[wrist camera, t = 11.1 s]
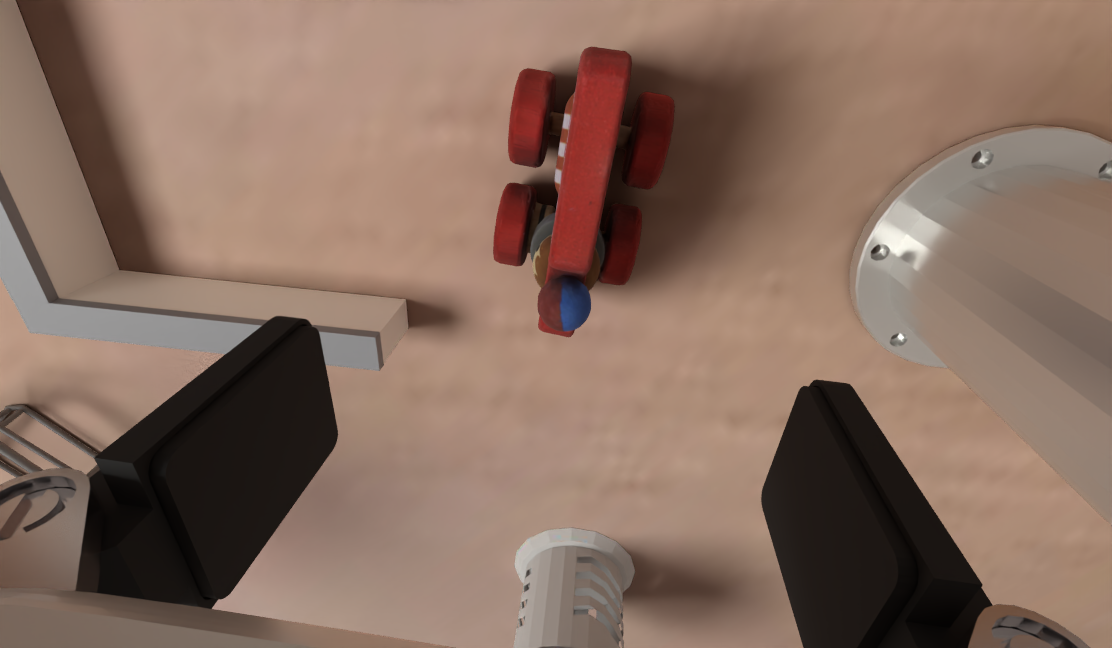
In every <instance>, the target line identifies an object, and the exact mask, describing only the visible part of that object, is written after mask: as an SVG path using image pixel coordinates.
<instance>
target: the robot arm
mask: <svg viewBox="0 0 1112 648" xmlns="http://www.w3.org/2000/svg"><path fill="white" fill-rule="evenodd" d="M974 155H975V156H974ZM972 158H973V159H972ZM874 247H875V249H873V248H874ZM872 249H873V250H872ZM849 279H850V295H851V299H852V303H853V307H854V310H855V312H856V314H857V316H858V318H859V320H860V321H861V323H862V325H863V326H864V327H865V329H866V330H867V331H868V332H869V333H870V334H871V336H872V337H873V338H874V339H875V340H876V341H877V342H878V343H879V344H880V345H881V346H883V347H884V348H885V349H886V350H888V351H889V352H891V353H893V354H895V355H897V356H899V357H901V358H903V359H905V360H907V361H910V362H914V363H917V364H921V365H925V366H931V367H940V368H950V369H951V370H952V371H953V372H954V373H955V374H956V375H957V376H958V377H959V378H960V379H961V380H962V381H963V382H964V383H965V384H966V385H967V386H968V387H969V388H970V389H971V390H972V391H973V392H974V393H975V394H976V395H977V396H978V397H979V398H980V399H981V400H982V401H983V402H984V403H986V404H987V405H988V406H989V407H990V408H991V409H992V410H993V411H994V412H995V413H996V414H997V415H998V416H999V417H1000V418H1001V419H1002V420H1003V421H1004V422H1005V423H1006V424H1007V425H1008V426H1009V427H1010V428H1011V429H1012V430H1013V431H1014V432H1015V433H1016V434H1017V435H1018V436H1019V437H1020V438H1021V439H1022V440H1024V441H1025V442H1026V443H1027V444H1028V445H1029V446H1030V447H1031V448H1032V449H1033V450H1034V451H1035V452H1036V453H1037V454H1038V455H1039V456H1040V457H1041V458H1042V459H1043V460H1044V461H1045V462H1046V463H1047V464H1048V465H1049V466H1050V467H1051V468H1052V469H1053V470H1054V471H1055V472H1056V473H1057V474H1058V475H1059V476H1060V477H1062V478H1063V479H1064V480H1065V481H1066V482H1067V483H1068V484H1069V485H1070V486H1071V487H1072V488H1073V489H1074V490H1075V491H1076V492H1077V493H1078V494H1079V495H1080V496H1081V497H1082V498H1083V499H1084V500H1085V501H1086V502H1087V503H1088V504H1089V505H1090V506H1091V507H1092V508H1093V509H1094V510H1095V511H1096V512H1097V513H1099V514H1100V515H1101V516H1102V517H1103V518H1104V519H1105V520H1106V521H1107V522H1108V523H1109V524H1110V525H1111V526H1112V143H1111V142H1109V141H1107V140H1105V139H1102V138H1100V137H1098V136H1096V135H1093V134H1091V133H1088V132H1083V131H1079V130H1074V129H1069V128H1065V127H1056V126H1043V125H1029V126H1020V127H1010V128H1004V129H1000V130H996V131H993V132H989V133H986V134H982V135H978V136H975V137H973V138H970V139H968V140H966V141H964V142H961V143H959V144H957V145H955V146H952V147H950V148H948V149H946V150H944V151H943V152H941V153H939V154H938V155H936V156H935V157H933V158H931V159H930V160H928V161H927V162H925V163H923V164H922V165H920V166H919V167H918V168H917V169H915V170H914V171H913V172H912V173H911V174H909V175H908V176H907V177H906V178H905V179H903V180H902V181H901V182H900V183H899V184H897V185H896V187H895V188H894V189H893V190H892V191H891V192H890V193H889V194H888V195H887V197H886V198H885V199H884V200H883V201H882V202H881V203H880V204H879V205H878V207H877V208H876V210H875V211H874V213H873V214H872V216H871V218H870V219H869V221H868V222H867V224H866V225H865V227H864V228H863V231H862V233H861V235H860V238H859V240H858V242H857V245H856V247H855V249H854V253H853V258H852V262H851V267H850V271H849ZM337 437H338V430H337V424H336V419H335V413H334V408H333V403H332V397H331V392H330V387H329V381H328V376H327V371H326V365H325V360H324V354H323V349H322V344H321V338H320V334H319V331H318V330H317V328H315V327H312V325H311V323H310V322H309V321H308V320H307V319H303V318H294V317H286V316H275V317H273V318H271V319H270V320H269V321H267V322H266V323H265V324H264V325H262V326H261V327H260V328H258V329H257V330H256V331H255V332H253V333H252V334H251V335H250V336H248V337H247V338H246V339H244V340H243V341H242V342H241V343H239V344H238V345H237V346H236V347H234V348H233V349H232V350H230V351H229V352H228V353H227V354H225V355H224V356H223V357H222V358H220V359H219V360H218V361H216V362H215V363H214V364H213V365H211V366H210V367H209V368H208V369H206V370H205V371H204V372H202V373H201V374H200V375H199V376H197V377H196V378H195V379H194V380H192V381H191V382H190V383H188V384H187V385H186V386H185V387H183V388H182V389H181V390H180V391H178V392H177V393H176V394H174V395H173V396H172V397H171V398H169V399H168V400H167V401H166V402H164V403H163V404H162V405H160V406H159V407H158V408H157V409H155V410H154V411H153V412H152V413H150V414H149V415H148V416H146V417H145V418H144V419H143V420H141V421H140V422H139V423H138V424H136V425H135V426H134V427H133V428H131V429H130V430H129V431H127V432H126V433H125V434H124V435H122V436H121V437H120V438H119V439H117V440H116V441H115V442H113V443H112V444H111V445H110V446H108V447H107V448H106V449H105V450H103V451H102V452H101V453H99V454H98V455H97V456H96V457H94V459H95V461H96V463H97V465H98V467H99V469H100V470H99V471H97V472H96V473H95V474H94V475H93V476H91V477H90V478H89V477H88V476H86V475H85V474H84V473H83V472H82V471H79V470H74V469H70V468H54V469H47V470H42V471H37V472H32V473H29V474H26V475H23V476H20V477H17V478H14V479H11V480H9V481H7V482H5V483H3V484H1V485H0V648H454V647H448V646H442V645H436V644H429V643H423V642H417V641H411V640H405V639H398V638H392V637H386V636H380V635H374V634H367V633H361V632H355V631H348V630H342V629H336V628H329V627H323V626H316V625H310V624H304V623H297V622H291V621H284V620H278V619H272V618H265V617H259V616H252V615H246V614H240V613H233V612H227V611H221V610H214V609H212V607H213V606H214V604H215V603H216V602H217V600H218V599H223V598H225V597H227V596H228V595H229V594H230V593H231V592H232V590H233V589H234V588H235V586H236V585H237V584H238V582H239V581H240V579H241V578H242V577H243V575H244V574H245V572H246V571H247V570H248V568H249V567H250V565H251V564H252V563H253V561H254V560H255V558H256V557H257V556H258V554H259V553H260V551H261V550H262V549H263V547H264V546H265V544H266V543H267V542H268V540H269V539H270V537H271V536H272V535H273V533H274V532H275V530H276V529H277V528H278V526H279V525H280V523H281V522H282V520H283V519H284V518H285V516H286V515H287V513H288V512H289V511H290V509H291V508H292V506H293V505H294V504H295V502H296V501H297V499H298V498H299V497H300V495H301V494H302V492H303V491H304V490H305V488H306V487H307V485H308V484H309V483H310V481H311V480H312V478H313V477H314V476H315V474H316V473H317V471H318V470H319V469H320V467H321V466H322V464H323V463H324V462H325V460H326V459H327V457H328V456H329V455H330V453H331V452H332V450H333V449H334V447H335V445H336V442H337ZM761 501H762V508H763V512H764V515H765V519H766V522H767V525H768V529H769V532H770V535H771V539H772V542H773V546H774V549H775V552H776V556H777V559H778V563H779V566H780V569H781V573H782V576H783V580H784V583H785V586H786V590H787V593H788V597H789V600H790V603H791V607H792V610H793V613H794V617H795V620H796V624H797V627H798V630H799V634H800V637H801V641H802V644H803V647H804V648H1090V647H1089V646H1088V645H1087V644H1086V643H1085V642H1083V641H1082V640H1081V639H1080V638H1079V637H1077V636H1076V635H1074V634H1073V633H1071V632H1070V631H1068V630H1067V629H1065V628H1064V627H1063V626H1061V625H1060V624H1058V623H1056V622H1054V621H1052V620H1050V619H1048V618H1046V617H1044V616H1042V615H1040V614H1038V613H1036V612H1034V611H1031V610H1028V609H1025V608H1021V607H1018V606H1015V605H1002V604H996V605H992V603H991V602H990V600H989V599H988V597H987V596H986V594H985V593H984V591H983V590H982V588H981V587H982V583H981V582H980V580H979V579H978V577H977V576H976V574H975V572H974V571H973V569H972V568H971V566H970V565H969V563H968V562H967V560H966V559H965V557H964V556H963V554H962V553H961V551H960V550H959V548H958V547H957V545H956V544H955V542H954V541H953V539H952V538H951V536H950V534H949V533H948V531H947V530H946V528H945V527H944V525H943V524H942V522H941V521H940V519H939V518H938V516H937V515H936V513H935V512H934V510H933V509H932V507H931V506H930V504H929V503H928V501H927V500H926V498H925V496H924V495H923V493H922V492H921V490H920V489H919V487H918V486H917V484H916V483H915V481H914V480H913V478H912V477H911V475H910V474H909V472H908V471H907V469H906V468H905V466H904V465H903V463H902V462H901V460H900V459H899V457H898V455H897V454H896V452H895V451H894V449H893V448H892V446H891V445H890V443H889V442H888V440H887V439H886V437H885V436H884V434H883V433H882V431H881V430H880V428H879V427H878V425H877V424H876V422H875V421H874V419H873V417H872V416H871V414H870V413H869V411H868V410H867V408H866V407H865V405H864V404H863V402H862V401H861V399H860V398H859V396H858V395H857V393H856V392H855V390H854V389H853V387H852V386H851V385H850V384H847V383H840V382H832V381H823V380H814V381H813V382H812V383H811V384H810V386H809V387H808V386H803V387H801V389H800V390H799V392H798V395H797V397H796V400H795V403H794V405H793V408H792V411H791V413H790V416H789V419H788V421H787V424H786V427H785V430H784V432H783V435H782V438H781V440H780V443H779V446H778V448H777V451H776V454H775V456H774V459H773V462H772V465H771V467H770V470H769V473H768V475H767V478H766V481H765V483H764V486H763V489H762V497H761Z"/></svg>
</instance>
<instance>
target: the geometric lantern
mask: <svg viewBox="0 0 1112 648" xmlns="http://www.w3.org/2000/svg"><path fill="white" fill-rule="evenodd" d="M11 410H17V411H16V412H14V413H13V414H12V415H10V416H9V417H8V418H6V419H5V417H6V416H7V415H8V414H9V413H10V412H11ZM23 412H25V413H26V414H28V415H29V416H31V417H32V418H34V419H35V420H37V421H38V422H40V423H41V424H43V425H44V426H46V427H47V428H49V429H50V430H52V431H53V432H55V433H56V434H58V435H59V436H61V437H62V438H64V439H65V440H67V441H68V442H70V443H71V444H73V445H75V446H76V447H78V448H79V449H81V450H82V451H84V452H85V453H87V454H88V455H90V456H91V457H93V458H94V457H96V456H97V455H98V454H97V453H96V452H94V451H93V450H91V449H90V448H88V447H87V446H85V445H84V444H82V443H81V442H79V441H78V440H76V439H75V438H73V437H72V436H70V435H69V434H67V433H66V432H64V431H63V430H61V429H60V428H58V427H57V426H55V425H54V424H52V423H51V422H49V421H48V420H46V419H45V418H43V417H42V416H40V415H39V414H37V413H36V412H34V411H33V410H31V409H30V408H28V407H26V405H12V406H6V407H5V409H4V410H3V411H1V412H0V432H2V433H3V434H5V435H7V436H8V437H10V438H12V439H13V440H15V441H17V442H18V443H20V444H21V445H23V446H25V447H26V448H28V449H30V450H31V451H33V452H35V453H36V454H38V455H39V456H41V457H43V458H44V459H46V460H48V461H49V462H51V463H53V464H54V465H56V466H58V467H59V468H70V469H72V468H71V467H69V466H67V465H66V464H64V463H63V462H61V461H59V460H58V459H56V458H54V457H53V456H51V455H50V454H48V453H46V452H45V451H43V450H41V449H40V448H38V447H37V446H35V445H33V444H32V443H30V442H28V441H27V440H25V439H24V438H22V437H20V436H19V435H17V434H15V433H14V432H12V431H11V430H9V429H7V428H6V427H5V426H6V425H8V424H9V423H10V422H12V421H13V420H14V419H16V418H17V417H18V416H19V415H21V414H22V413H23ZM4 419H5V420H4ZM3 420H4V421H3ZM0 453H1V454H2V455H4V456H5V457H7V458H8V459H10V460H11V461H13V462H14V463H16V464H17V465H19V466H20V467H22V468H23V469H25V470H26V471H28V472H29V473H32V472H37V471H42V470H43V469H41V468H40V467H38V466H37V465H35V464H34V463H32V462H31V461H29V460H28V459H26V458H25V457H23V456H22V455H20V454H19V453H17V452H16V451H14V450H13V449H11V448H10V447H8V446H7V445H5V444H4V443H2V442H1V441H0ZM0 468H1V469H3V470H5V471H6V472H8V473H10V474H11V475H13V476H15V477H16V478H17V477H20V476H23V475H22V474H21V473H19V472H17V471H16V470H14V469H13V468H11V467H9V466H8V465H6V464H4V463H3V462H1V461H0ZM98 470H100V469H99V467H98V465H96V466H95V467H94V468H93V469H92V470H91V471H90V472H89V473H88V474H87V475H86V476H88V477H89V478H90V477H91V476H93V475H94V474H95V473H96V472H97V471H98Z"/></svg>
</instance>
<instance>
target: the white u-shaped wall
mask: <svg viewBox="0 0 1112 648" xmlns="http://www.w3.org/2000/svg"><path fill="white" fill-rule="evenodd" d="M0 277H1V279H2V281H3V283H4V285H5V287H6V289H7V291H8V293H9V295H10V297H11V299H12V300H13V301H14V303H15V305H16V307H17V309H18V311H19V313H20V315H21V317H22V319H23V321H24V323H25V324H26V326H27V328H28V330H29V332H30V333H36V334H46V335H55V336H64V337H73V338H82V339H92V340H101V341H110V342H119V343H128V344H137V345H147V346H156V347H165V348H174V349H183V350H193V351H202V352H211V353H220V354H227V353H228V352H229V351H230V350H232V349H233V348H234V347H236V346H237V345H238V344H239V343H241V342H242V341H243V340H244V339H246V338H247V337H248V336H250V335H251V334H252V333H253V332H255V331H256V330H257V329H258V328H260V327H261V326H262V325H264V324H265V323H266V322H267V321H269V320H270V319H271V318H273V317H275V316H286V317H294V318H303V319H307V320H308V321H309V322H310V323H311V325H312V327H315V328H317V330H318V331H319V334H320V338H321V344H322V349H323V354H324V360H325V365H330V366H340V367H349V368H358V369H367V370H376V371H380V369H381V368H382V367H383V365H384V363H385V361H386V360H387V358H388V357H389V356H390V354H391V353H392V351H393V350H394V348H395V347H396V345H397V344H398V343H399V341H400V340H401V338H402V337H403V335H404V334H405V332H406V331H407V330H408V317H407V305H406V299H399V298H389V297H379V296H369V295H359V294H349V293H340V292H330V291H320V290H310V289H300V288H291V287H281V286H271V285H261V284H251V283H242V282H232V281H222V280H212V279H202V278H192V277H183V276H173V275H163V274H153V273H143V272H134V271H124V270H119V268H118V265H117V262H116V260H115V257H114V255H113V252H112V250H111V247H110V244H109V242H108V239H107V237H106V234H105V231H104V229H103V226H102V224H101V221H100V218H99V216H98V213H97V211H96V208H95V205H94V203H93V200H92V198H91V195H90V192H89V190H88V187H87V185H86V182H85V179H84V177H83V174H82V172H81V169H80V166H79V164H78V161H77V159H76V156H75V153H74V151H73V148H72V146H71V143H70V140H69V138H68V135H67V133H66V130H65V127H64V125H63V122H62V120H61V117H60V114H59V112H58V109H57V107H56V104H55V101H54V99H53V96H52V94H51V91H50V88H49V86H48V83H47V81H46V78H45V75H44V73H43V70H42V68H41V65H40V62H39V60H38V57H37V55H36V52H35V49H34V47H33V44H32V42H31V39H30V36H29V34H28V31H27V29H26V26H25V23H24V21H23V18H22V16H21V13H20V10H19V8H18V5H17V3H16V0H0Z"/></svg>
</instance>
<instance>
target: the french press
mask: <svg viewBox="0 0 1112 648" xmlns="http://www.w3.org/2000/svg"><path fill="white" fill-rule="evenodd" d="M514 566H515V569H516V571H517V573H518V575H519V578H520V580H521V581H522V583H523V589H524V593H523V591H522V597H521V604H520V607H521V606H522V609H521V610H519V616H518V620H519V626H520V627H519V628H518V623H517V629H516V636H515V642H514V648H620V647H619V641H621V645H622V648H624V641H623V621H622V618H623V605H622V601H623V592H624V591H625V590H626V589H627V588H629V587H630V585H631V582H632V579H633V577H634V574H635V569H634V566H633V562H632V559H631V556H630V555H629V554H628V553H627V552H626V551H625V550H624V549H623V548H622V547H621V546H620V544H619V543H618V542H616V541H614V540H612V539H610V538H608V537H606V536H604V535H602V534H599V533H597V532H594V531H588V530H582V529H576V528H563V529H553V530H546V531H544V532H542V533H540V534H537V535H535V536H533V537H530V538H528V539H527V540H526V541H525V543H524V544H523V545H522V546H521V547H520V548H519V549H518V550H517V553H516V559H515V565H514ZM524 600H525V601H526V607H524V603H523V601H524ZM619 608H621V611H622V613H621V614H620V611H619ZM588 609H596V610H597V617H596V619H595V618H594V617H592V616H591V615H589V614H588ZM522 617H523V619H524V625H522V621H521V618H522ZM618 624H621V627H622V631H620V628H619V625H618Z"/></svg>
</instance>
